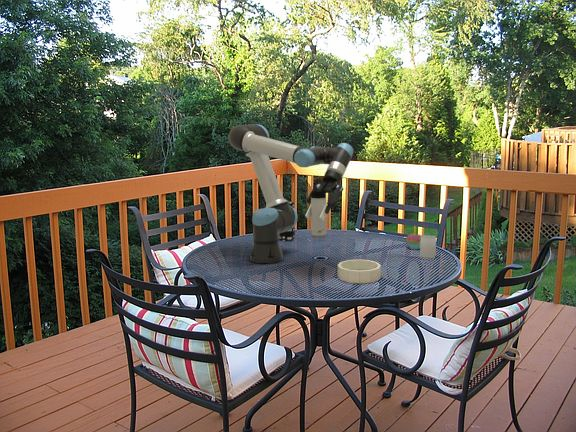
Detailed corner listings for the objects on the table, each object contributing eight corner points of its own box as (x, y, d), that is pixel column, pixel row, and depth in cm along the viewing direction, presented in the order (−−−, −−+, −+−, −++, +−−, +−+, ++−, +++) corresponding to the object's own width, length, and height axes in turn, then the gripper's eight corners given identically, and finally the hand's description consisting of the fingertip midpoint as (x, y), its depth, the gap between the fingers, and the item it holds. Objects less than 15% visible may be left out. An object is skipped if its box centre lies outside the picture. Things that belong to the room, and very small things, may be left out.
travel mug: (322, 239, 222) (322, 190, 218) (308, 237, 226) (308, 189, 222) (329, 235, 227) (329, 188, 223) (316, 234, 231) (315, 187, 227)
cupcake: (423, 250, 261) (424, 226, 259) (405, 250, 263) (406, 225, 260) (422, 246, 269) (423, 222, 267) (405, 245, 271) (405, 222, 269)
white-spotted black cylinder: (297, 238, 291) (296, 201, 288) (290, 242, 284) (290, 204, 280) (283, 237, 295) (282, 201, 291) (276, 240, 287) (275, 203, 284)
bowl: (333, 281, 217) (333, 269, 216) (344, 269, 233) (344, 258, 232) (375, 285, 211) (375, 272, 210) (383, 272, 227) (383, 261, 226)
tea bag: (434, 258, 247) (435, 236, 245) (419, 257, 250) (420, 236, 248) (435, 256, 251) (436, 235, 249) (420, 255, 253) (421, 234, 251)
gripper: (357, 181, 229) (337, 225, 219) (318, 178, 240) (298, 221, 230) (350, 169, 224) (330, 215, 214) (311, 168, 235) (291, 211, 225)
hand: (314, 218), depth 222 cm, fingers closed on travel mug, 6 cm apart
